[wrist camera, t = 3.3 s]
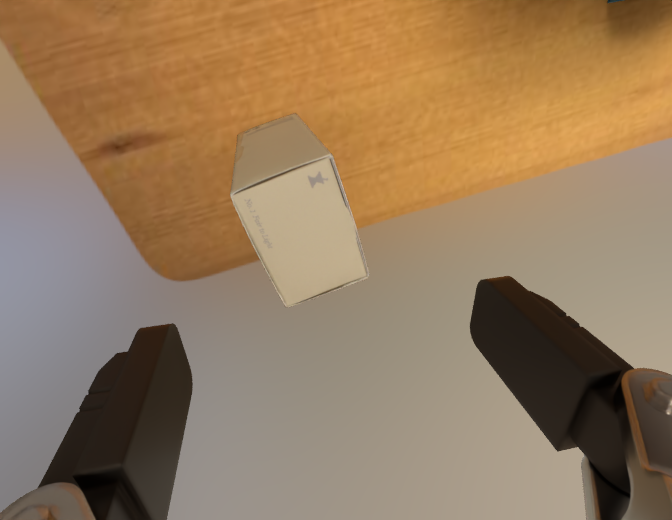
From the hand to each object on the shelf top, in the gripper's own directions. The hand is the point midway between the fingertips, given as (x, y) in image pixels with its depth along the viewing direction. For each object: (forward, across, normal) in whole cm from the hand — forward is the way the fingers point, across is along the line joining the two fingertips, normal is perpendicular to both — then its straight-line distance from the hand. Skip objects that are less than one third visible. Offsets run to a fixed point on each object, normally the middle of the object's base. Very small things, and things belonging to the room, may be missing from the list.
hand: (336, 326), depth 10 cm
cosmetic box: (+18, 0, 0) cm, 18 cm away
